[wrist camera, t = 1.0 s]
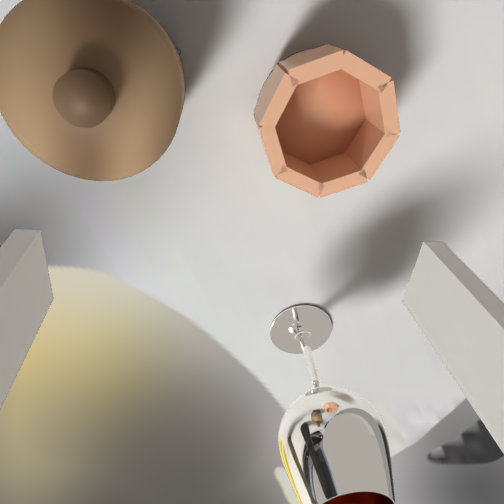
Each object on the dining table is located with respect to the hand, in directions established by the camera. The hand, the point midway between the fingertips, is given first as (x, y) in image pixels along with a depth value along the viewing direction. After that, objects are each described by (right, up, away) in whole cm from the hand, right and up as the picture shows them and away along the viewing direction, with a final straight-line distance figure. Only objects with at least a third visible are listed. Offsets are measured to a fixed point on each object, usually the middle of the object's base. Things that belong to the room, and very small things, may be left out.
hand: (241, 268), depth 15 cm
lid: (-9, +11, +12) cm, 18 cm away
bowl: (+5, +11, +17) cm, 21 cm away
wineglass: (+5, -7, +28) cm, 29 cm away
